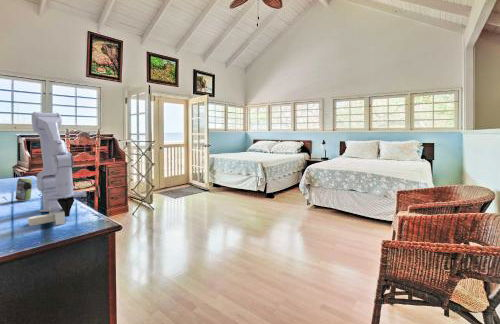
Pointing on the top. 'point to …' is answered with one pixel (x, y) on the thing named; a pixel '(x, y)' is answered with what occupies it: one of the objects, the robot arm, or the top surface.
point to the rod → (40, 219)
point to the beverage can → (23, 189)
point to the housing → (57, 214)
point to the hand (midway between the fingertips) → (66, 216)
